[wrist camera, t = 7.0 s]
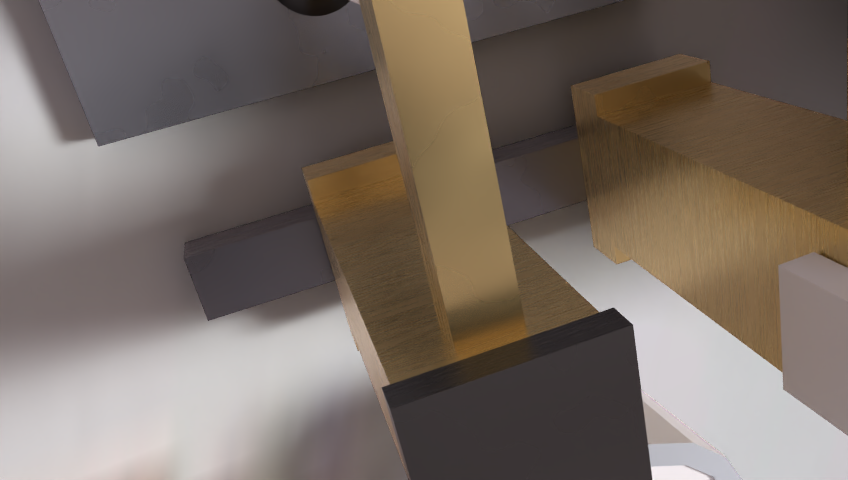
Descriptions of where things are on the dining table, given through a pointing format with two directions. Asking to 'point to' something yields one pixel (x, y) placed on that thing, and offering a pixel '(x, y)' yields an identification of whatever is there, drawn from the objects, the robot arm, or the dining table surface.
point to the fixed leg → (711, 188)
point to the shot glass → (681, 448)
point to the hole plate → (229, 51)
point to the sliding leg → (466, 285)
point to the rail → (304, 247)
